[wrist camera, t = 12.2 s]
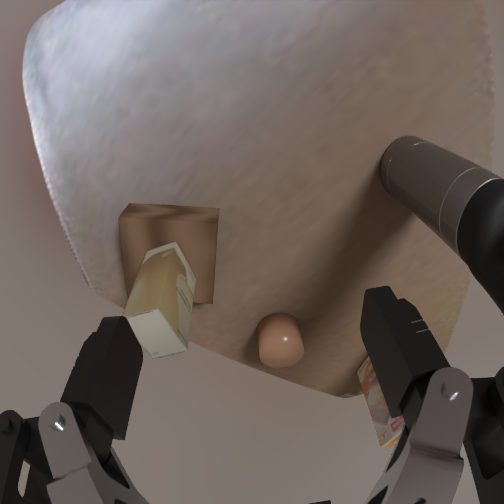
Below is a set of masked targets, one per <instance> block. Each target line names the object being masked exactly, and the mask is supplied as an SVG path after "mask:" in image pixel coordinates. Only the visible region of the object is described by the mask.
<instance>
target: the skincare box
mask: <svg viewBox="0 0 504 504" xmlns="http://www.w3.org/2000/svg"><path fill="white" fill-rule="evenodd" d="M195 282H196V279H195V276H194V274H193V272H192V270H191V268H190V266H189V264H188V263H187V261H186V259H185V257H184V255H183V253H182V252H181V250H180V248H179V246H178V244H177V243H176V242H173V243H170V244H167V245H164V246H161V247H158V248H155V249H152V250H150V251H147V253H146V255H145V258H144V260H143V262H142V265H141V267H140V270H139V272H138V275H137V278H136V280H135V283H134V285H133V288H132V290H131V293H130V296H129V299H128V301H127V304H126V307H125V309H124V312H123V315H122V316H124V317H126V318H127V320H128V322H129V324H130V326H131V328H132V330H133V332H134V334H135V336H136V337H137V339H138V341H139V343H140V345H142V347H143V348H144V349H145V350H146V352H147V353H148V354H149V355H150V356H151V358H152V359H156V358H161V357H165V356H170V355H174V354H179V353H182V352H186V351H187V350H188V341H189V331H190V322H191V314H192V305H193V297H194V289H195Z"/></svg>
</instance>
